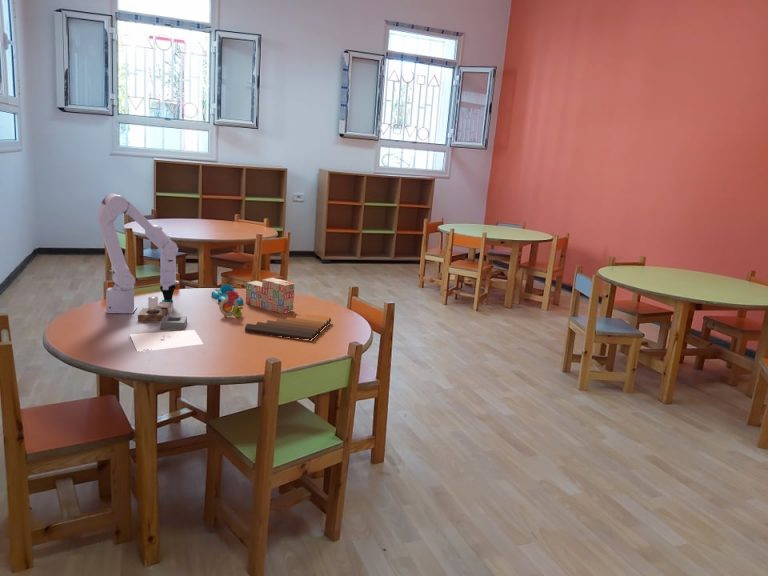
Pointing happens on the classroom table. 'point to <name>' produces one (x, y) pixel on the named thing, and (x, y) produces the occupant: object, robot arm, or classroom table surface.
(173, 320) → the block
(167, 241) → the robot arm
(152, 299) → the steel peg
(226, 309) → the bird rattle
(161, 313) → the socket block
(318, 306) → the classroom table surface
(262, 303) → the stack of blocks
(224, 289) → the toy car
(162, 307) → the key
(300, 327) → the pan flute
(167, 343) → the paper sheet
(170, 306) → the block
